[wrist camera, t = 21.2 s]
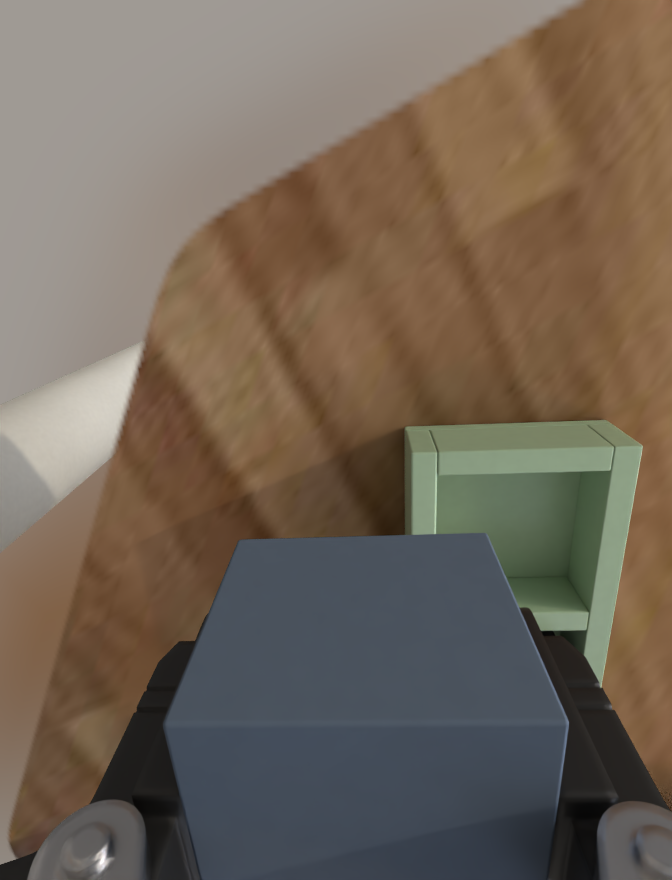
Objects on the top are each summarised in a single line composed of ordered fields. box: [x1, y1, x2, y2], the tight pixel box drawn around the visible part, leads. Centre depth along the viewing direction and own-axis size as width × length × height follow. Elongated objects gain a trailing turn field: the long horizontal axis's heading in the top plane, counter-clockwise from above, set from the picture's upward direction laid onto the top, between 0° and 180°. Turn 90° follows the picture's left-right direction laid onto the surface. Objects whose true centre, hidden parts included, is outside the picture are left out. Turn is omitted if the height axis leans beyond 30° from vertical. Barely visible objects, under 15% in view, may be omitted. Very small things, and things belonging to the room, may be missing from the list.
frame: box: [405, 420, 642, 688], centre depth 23 cm, size 8×16×3 cm, turn 3°
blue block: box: [163, 533, 569, 880], centre depth 8 cm, size 5×5×4 cm
